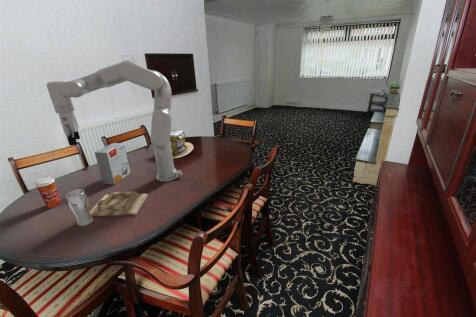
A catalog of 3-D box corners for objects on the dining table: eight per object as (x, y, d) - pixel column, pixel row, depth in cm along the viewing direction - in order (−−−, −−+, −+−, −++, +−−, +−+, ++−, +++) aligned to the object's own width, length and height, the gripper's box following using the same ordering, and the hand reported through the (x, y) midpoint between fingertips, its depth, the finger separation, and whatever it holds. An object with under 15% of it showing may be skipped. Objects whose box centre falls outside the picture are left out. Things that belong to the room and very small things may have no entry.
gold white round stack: (173, 162, 161) (169, 139, 154) (153, 153, 176) (149, 132, 169) (200, 150, 178) (198, 129, 171) (180, 144, 193) (177, 124, 186)
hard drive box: (114, 185, 134) (105, 153, 126) (103, 184, 136) (93, 152, 127) (131, 172, 148) (124, 143, 140) (120, 171, 150) (112, 142, 141)
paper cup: (48, 211, 113) (37, 186, 108) (41, 206, 117) (30, 181, 111) (66, 202, 119) (57, 178, 114) (59, 198, 123) (49, 174, 117)
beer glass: (81, 217, 108) (71, 189, 102) (97, 216, 109) (87, 188, 103) (73, 227, 102) (61, 198, 96) (89, 226, 103) (79, 197, 96)
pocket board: (147, 195, 124) (146, 189, 122) (135, 214, 109) (134, 208, 108) (105, 196, 124) (104, 190, 122) (88, 216, 109) (86, 209, 108)
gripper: (70, 111, 107) (81, 146, 114) (76, 104, 121) (85, 136, 128) (50, 113, 104) (62, 149, 111) (59, 106, 119) (69, 138, 126)
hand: (75, 142), depth 120 cm, fingers open, 9 cm apart
